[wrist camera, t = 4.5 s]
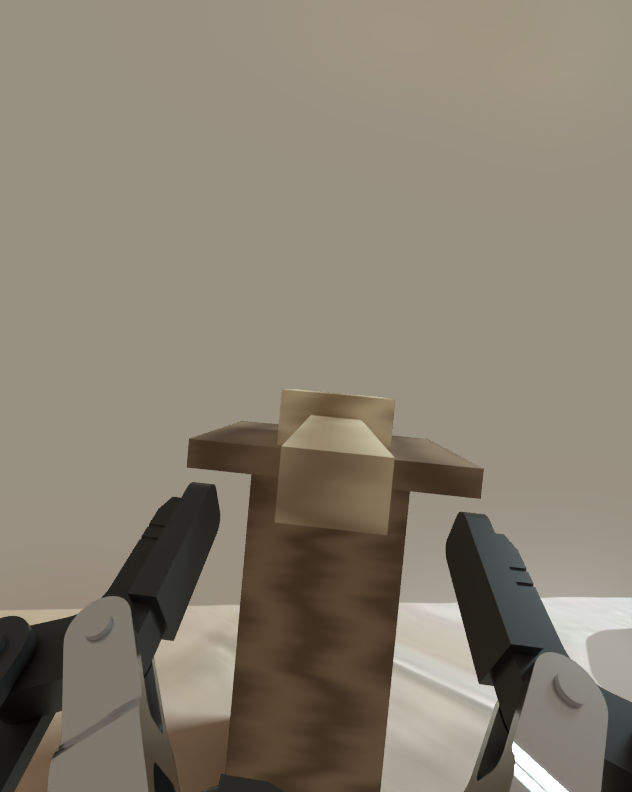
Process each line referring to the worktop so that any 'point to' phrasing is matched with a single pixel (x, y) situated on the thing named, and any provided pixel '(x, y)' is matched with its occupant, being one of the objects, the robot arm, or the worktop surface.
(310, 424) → the beige stepped hammer block
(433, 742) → the worktop surface
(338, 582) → the wooden t-shaped post
